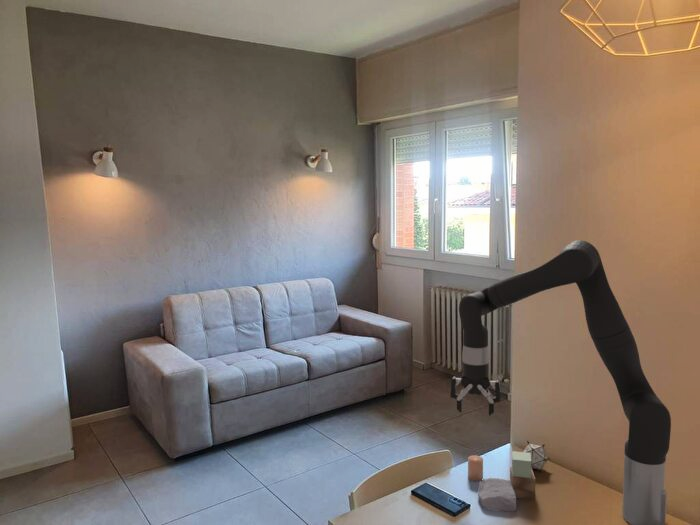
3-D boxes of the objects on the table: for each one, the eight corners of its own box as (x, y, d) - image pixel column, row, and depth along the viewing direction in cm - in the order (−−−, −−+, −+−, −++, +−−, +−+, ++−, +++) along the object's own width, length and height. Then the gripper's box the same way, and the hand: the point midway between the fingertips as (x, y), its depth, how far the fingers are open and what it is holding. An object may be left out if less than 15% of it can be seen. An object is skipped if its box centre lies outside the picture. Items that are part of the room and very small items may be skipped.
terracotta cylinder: (483, 475, 162) (483, 456, 161) (482, 482, 158) (482, 463, 157) (468, 473, 163) (468, 454, 163) (467, 480, 159) (467, 461, 159)
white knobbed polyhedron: (539, 478, 166) (559, 454, 165) (533, 481, 159) (554, 455, 158) (516, 457, 171) (535, 433, 170) (509, 458, 164) (529, 433, 163)
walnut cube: (531, 487, 155) (531, 468, 154) (535, 499, 149) (535, 478, 148) (510, 486, 156) (510, 466, 155) (512, 497, 150) (513, 477, 149)
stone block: (482, 517, 144) (520, 511, 143) (478, 500, 144) (516, 494, 143) (478, 494, 156) (512, 489, 155) (474, 478, 156) (509, 473, 154)
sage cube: (530, 469, 153) (530, 452, 152) (531, 478, 148) (531, 461, 148) (512, 467, 154) (512, 451, 154) (512, 476, 150) (512, 459, 149)
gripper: (449, 362, 155) (449, 415, 157) (500, 365, 150) (499, 420, 152) (452, 354, 162) (452, 406, 164) (501, 358, 158) (500, 410, 160)
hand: (475, 413), depth 158 cm, fingers open, 8 cm apart
